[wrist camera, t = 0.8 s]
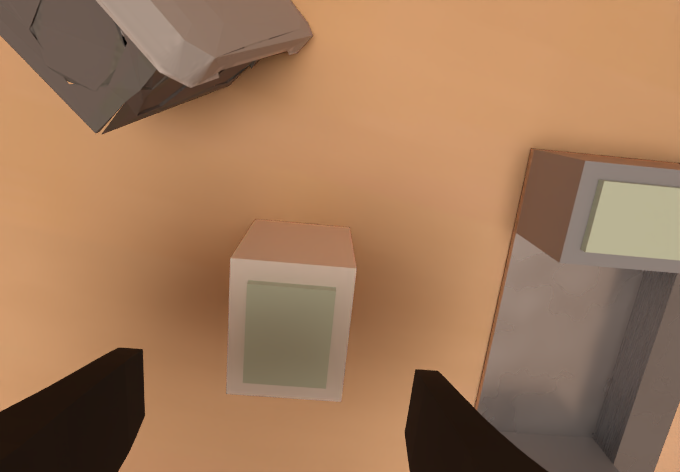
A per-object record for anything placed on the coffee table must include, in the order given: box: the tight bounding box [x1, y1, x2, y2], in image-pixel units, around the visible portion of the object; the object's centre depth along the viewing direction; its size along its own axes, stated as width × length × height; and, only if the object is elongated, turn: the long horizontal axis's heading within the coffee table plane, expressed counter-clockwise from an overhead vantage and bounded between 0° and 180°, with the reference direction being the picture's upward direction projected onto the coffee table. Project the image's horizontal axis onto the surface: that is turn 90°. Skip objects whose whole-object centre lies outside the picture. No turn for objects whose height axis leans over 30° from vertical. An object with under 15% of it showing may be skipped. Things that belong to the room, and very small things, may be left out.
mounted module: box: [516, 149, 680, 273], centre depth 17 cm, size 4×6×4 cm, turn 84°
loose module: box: [226, 219, 357, 402], centre depth 17 cm, size 5×4×5 cm
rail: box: [475, 148, 680, 472], centre depth 20 cm, size 17×8×2 cm, turn 174°
